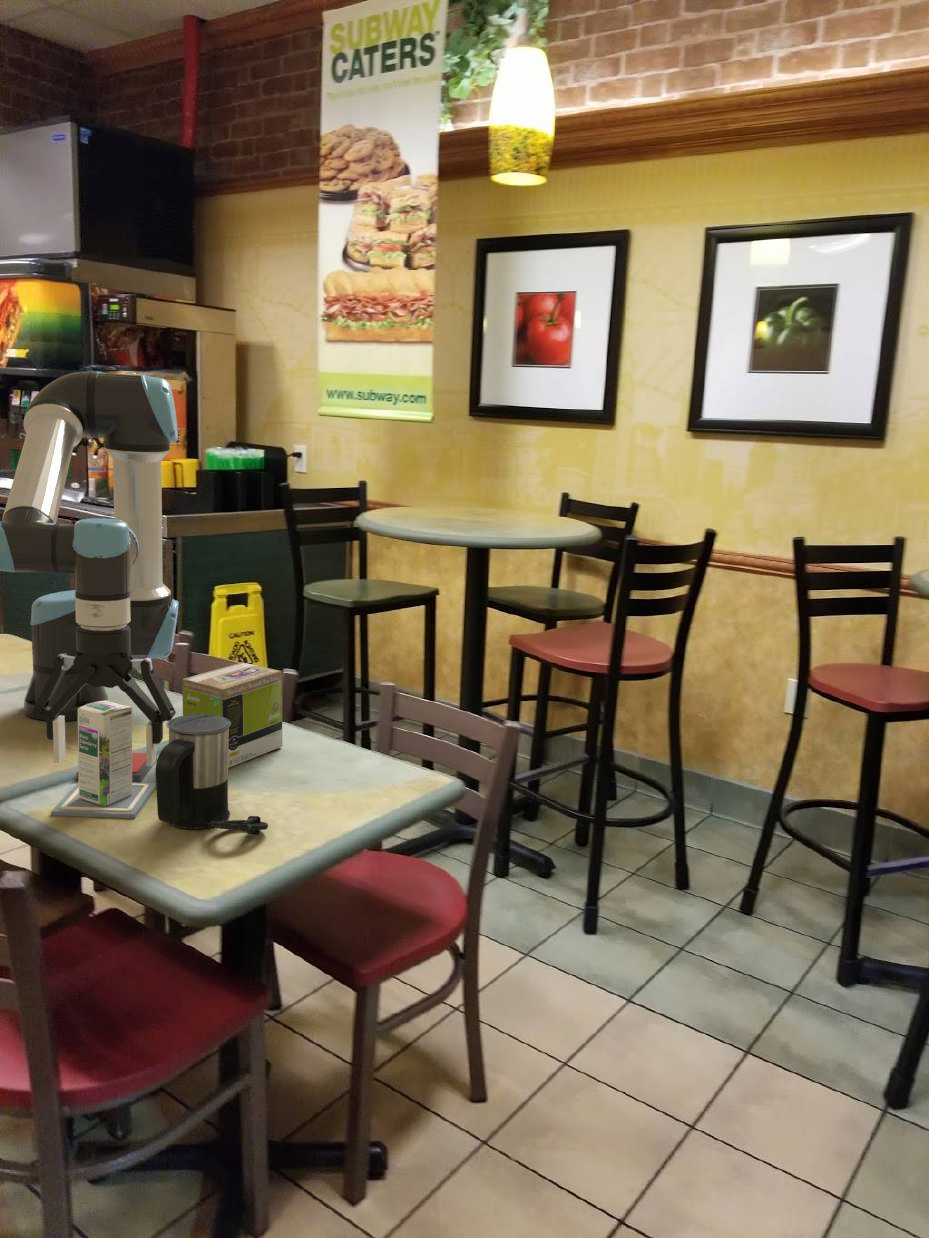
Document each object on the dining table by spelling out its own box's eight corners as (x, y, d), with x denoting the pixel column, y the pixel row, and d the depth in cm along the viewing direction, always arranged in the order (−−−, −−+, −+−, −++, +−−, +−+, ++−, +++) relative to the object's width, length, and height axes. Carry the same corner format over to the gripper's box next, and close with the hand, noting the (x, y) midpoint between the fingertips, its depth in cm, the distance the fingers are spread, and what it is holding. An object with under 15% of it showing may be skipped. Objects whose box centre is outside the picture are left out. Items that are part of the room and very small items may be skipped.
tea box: (242, 736, 174) (243, 660, 170) (283, 748, 169) (285, 670, 166) (180, 758, 161) (180, 676, 158) (222, 772, 156) (223, 687, 153)
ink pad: (97, 757, 158) (97, 749, 158) (157, 760, 159) (157, 751, 159) (76, 779, 149) (76, 771, 148) (140, 782, 149) (140, 773, 149)
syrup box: (77, 799, 140) (74, 707, 137) (107, 786, 145) (105, 698, 142) (104, 807, 138) (102, 714, 135) (134, 794, 143) (133, 705, 140)
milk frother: (175, 803, 142) (175, 711, 139) (278, 807, 143) (280, 716, 140) (148, 844, 129) (147, 743, 126) (262, 849, 129) (264, 748, 126)
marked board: (80, 783, 147) (79, 779, 147) (156, 786, 148) (156, 782, 148) (51, 815, 135) (51, 810, 135) (134, 818, 136) (134, 813, 136)
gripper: (5, 626, 132) (10, 766, 136) (183, 635, 133) (183, 773, 138) (26, 615, 139) (31, 749, 143) (195, 623, 141) (195, 755, 145)
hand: (105, 761), depth 140 cm, fingers open, 13 cm apart
